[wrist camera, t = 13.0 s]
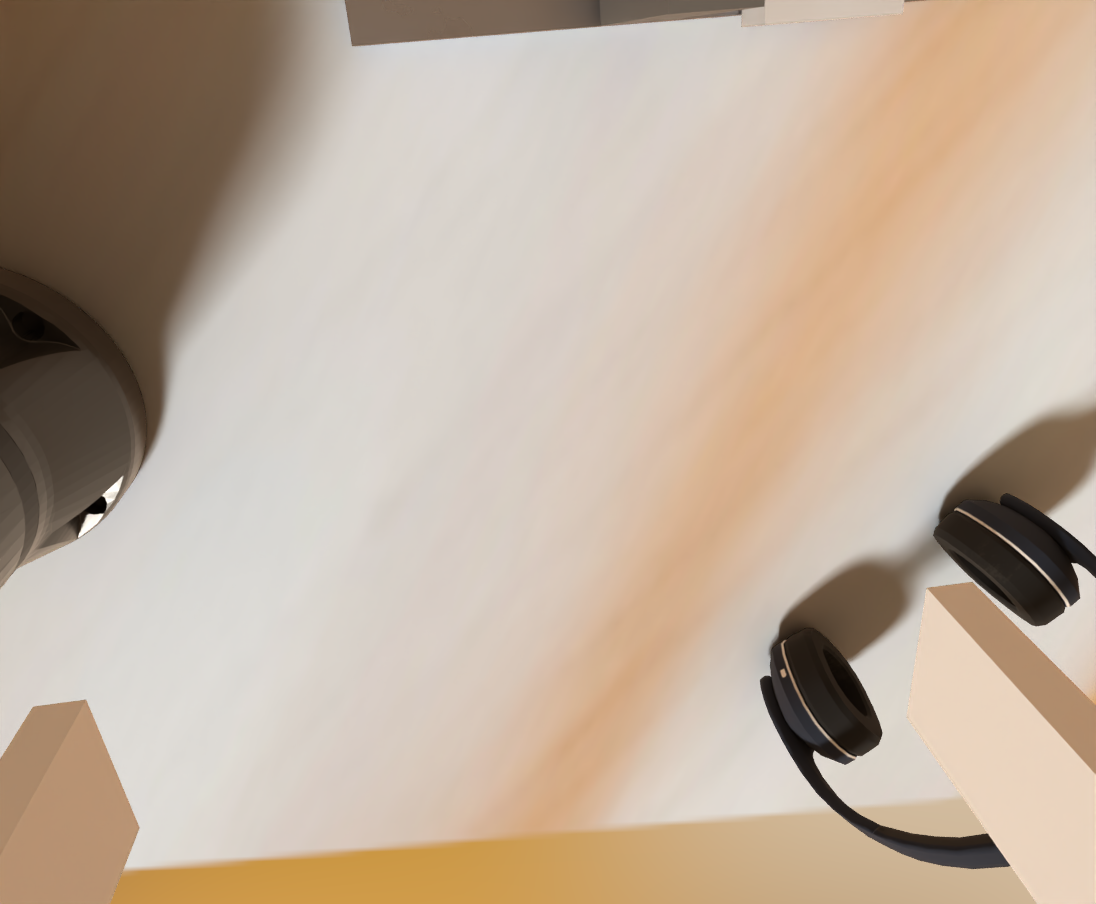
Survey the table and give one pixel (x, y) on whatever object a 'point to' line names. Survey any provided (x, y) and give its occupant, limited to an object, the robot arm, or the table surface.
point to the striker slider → (745, 10)
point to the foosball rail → (470, 18)
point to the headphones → (842, 703)
